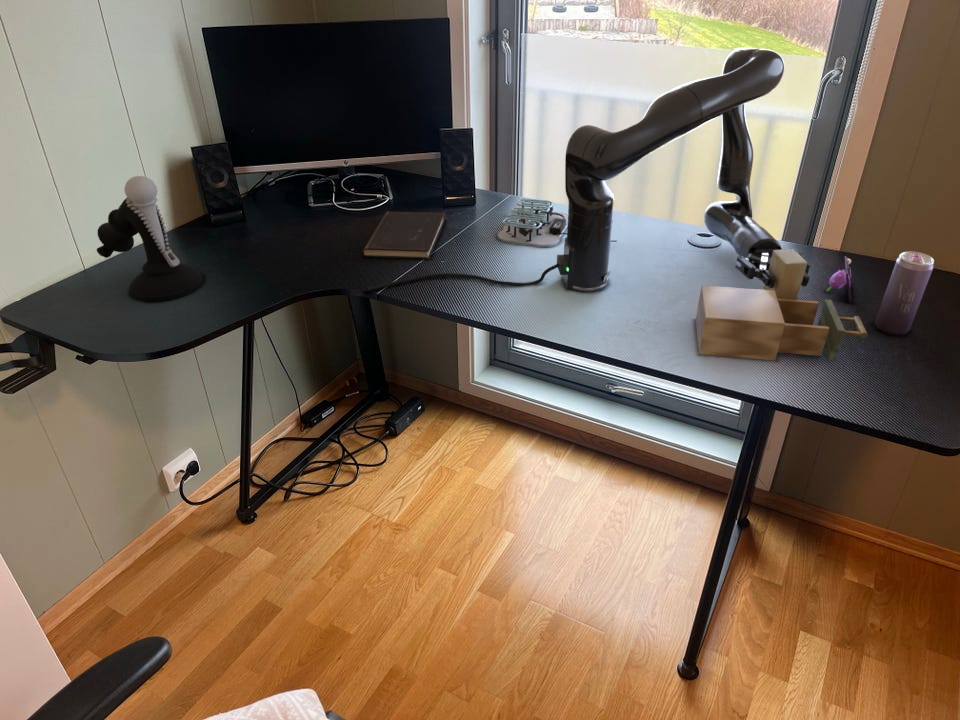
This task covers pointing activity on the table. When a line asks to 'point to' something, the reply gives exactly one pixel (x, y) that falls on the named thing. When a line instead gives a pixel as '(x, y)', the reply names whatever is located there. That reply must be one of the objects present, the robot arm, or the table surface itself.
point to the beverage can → (904, 292)
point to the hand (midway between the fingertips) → (789, 282)
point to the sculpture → (147, 245)
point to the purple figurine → (841, 279)
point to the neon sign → (534, 224)
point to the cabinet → (739, 322)
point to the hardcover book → (405, 235)
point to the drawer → (814, 328)
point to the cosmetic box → (787, 273)
